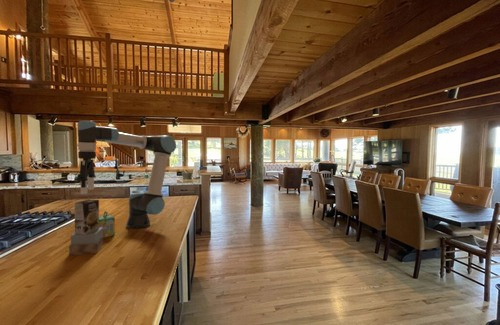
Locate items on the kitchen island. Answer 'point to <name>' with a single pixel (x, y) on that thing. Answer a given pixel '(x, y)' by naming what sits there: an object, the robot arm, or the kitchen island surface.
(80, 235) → the grey flat block
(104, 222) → the chalk box
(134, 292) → the kitchen island surface
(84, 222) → the coffee box
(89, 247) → the tower base
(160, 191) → the robot arm
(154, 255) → the kitchen island surface
